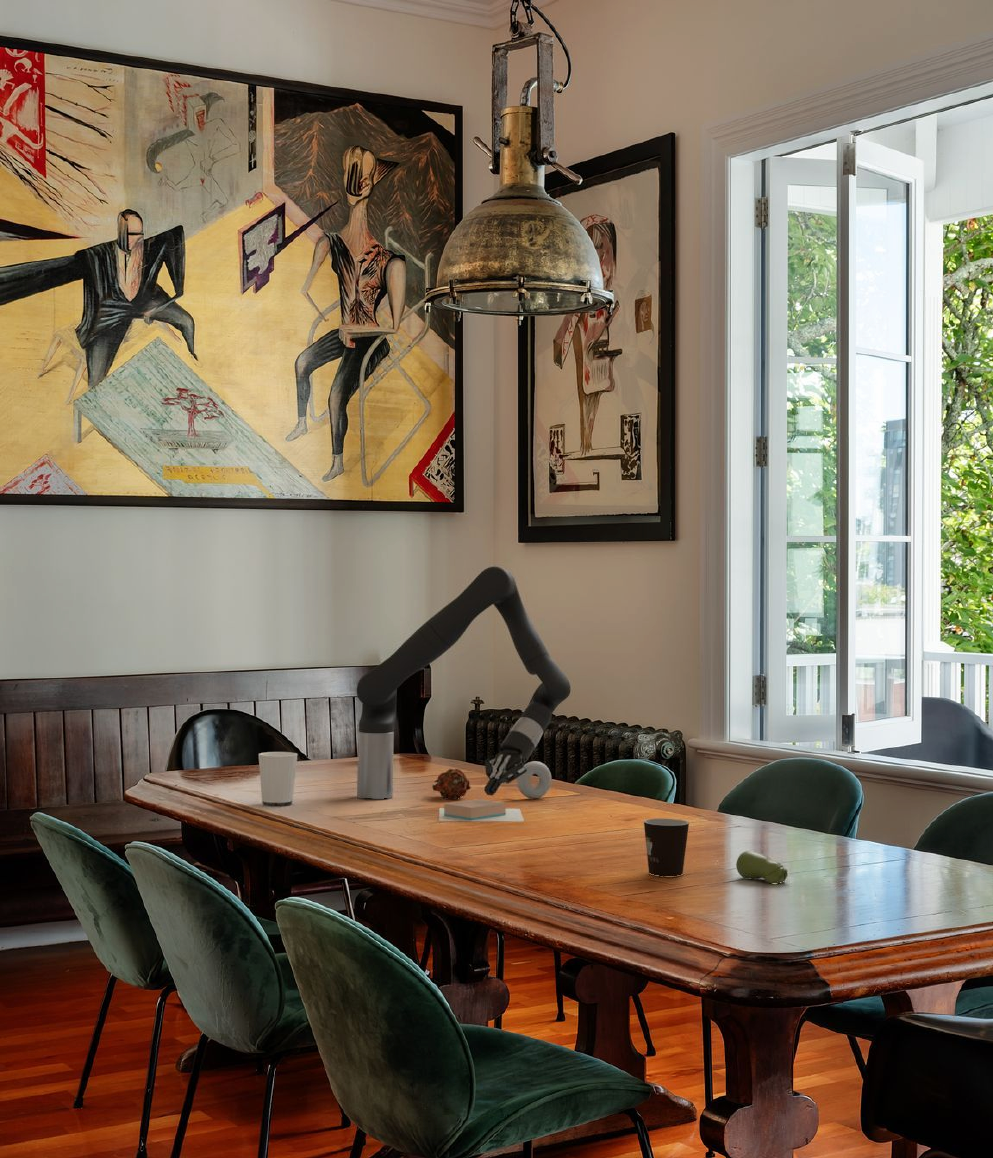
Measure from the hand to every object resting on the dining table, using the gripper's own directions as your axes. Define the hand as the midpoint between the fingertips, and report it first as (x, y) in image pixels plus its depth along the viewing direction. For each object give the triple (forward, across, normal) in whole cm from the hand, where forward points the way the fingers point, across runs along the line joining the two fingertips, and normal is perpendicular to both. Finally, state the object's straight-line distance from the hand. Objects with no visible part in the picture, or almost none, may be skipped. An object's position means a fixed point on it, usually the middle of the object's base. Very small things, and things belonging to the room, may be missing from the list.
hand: (488, 793), depth 331 cm
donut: (-17, -11, +25) cm, 33 cm away
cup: (+23, -48, -15) cm, 55 cm away
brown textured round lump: (-6, -27, +14) cm, 31 cm away
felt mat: (+5, 0, +2) cm, 6 cm away
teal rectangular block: (+1, 0, +4) cm, 4 cm away
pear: (+18, +89, -10) cm, 91 cm away
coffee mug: (+23, +72, -15) cm, 77 cm away
